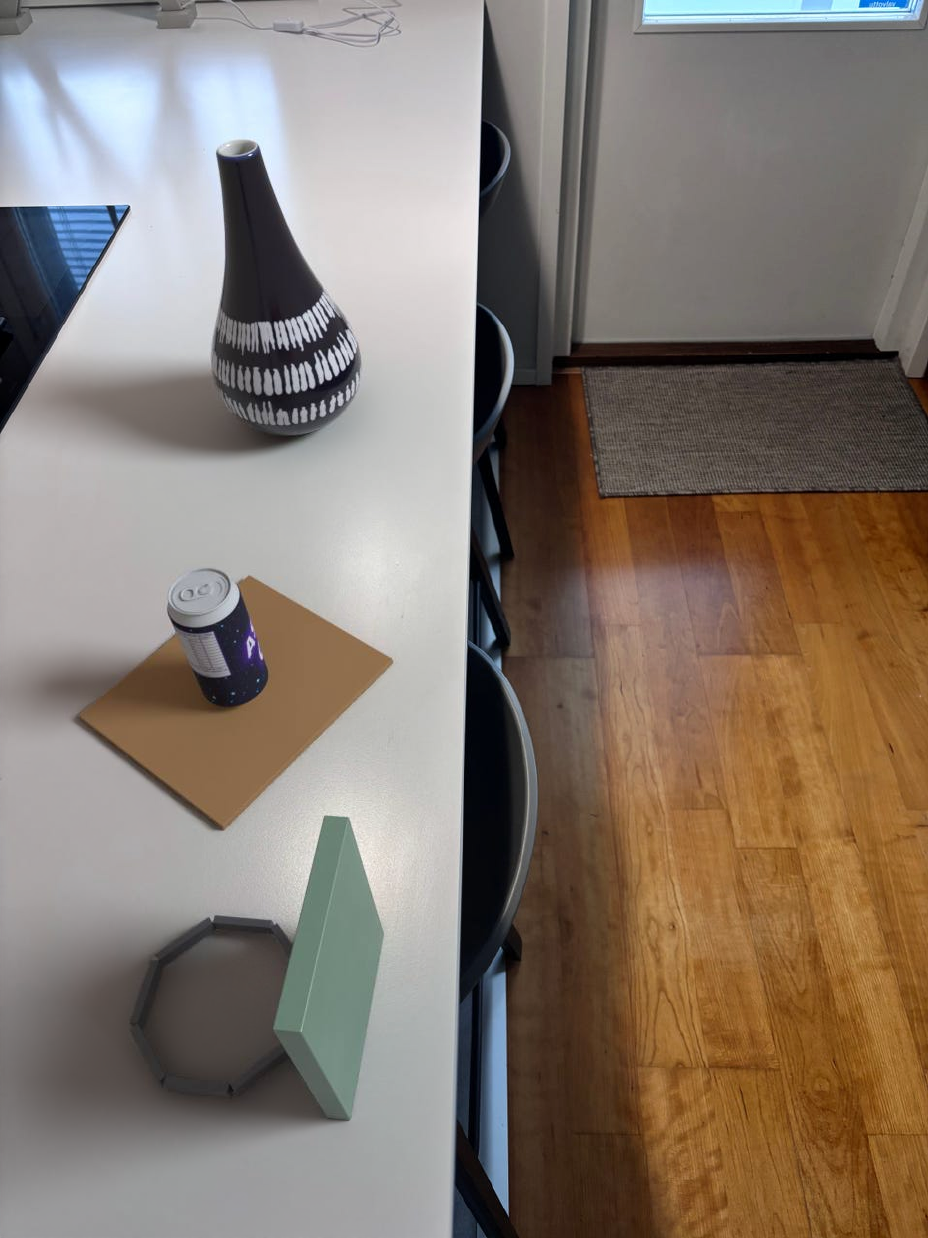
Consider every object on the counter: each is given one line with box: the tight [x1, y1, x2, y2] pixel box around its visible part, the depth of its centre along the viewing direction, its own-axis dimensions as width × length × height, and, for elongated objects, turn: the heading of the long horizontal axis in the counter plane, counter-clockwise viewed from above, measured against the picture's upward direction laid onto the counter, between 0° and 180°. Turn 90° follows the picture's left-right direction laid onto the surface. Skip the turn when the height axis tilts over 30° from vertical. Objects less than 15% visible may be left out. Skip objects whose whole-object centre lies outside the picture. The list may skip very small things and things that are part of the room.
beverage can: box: [166, 567, 268, 707], centre depth 77 cm, size 6×6×12 cm
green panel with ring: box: [128, 815, 385, 1121], centre depth 57 cm, size 15×12×16 cm
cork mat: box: [78, 574, 394, 831], centre depth 81 cm, size 20×18×1 cm
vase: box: [210, 139, 363, 437], centre depth 96 cm, size 16×16×30 cm
